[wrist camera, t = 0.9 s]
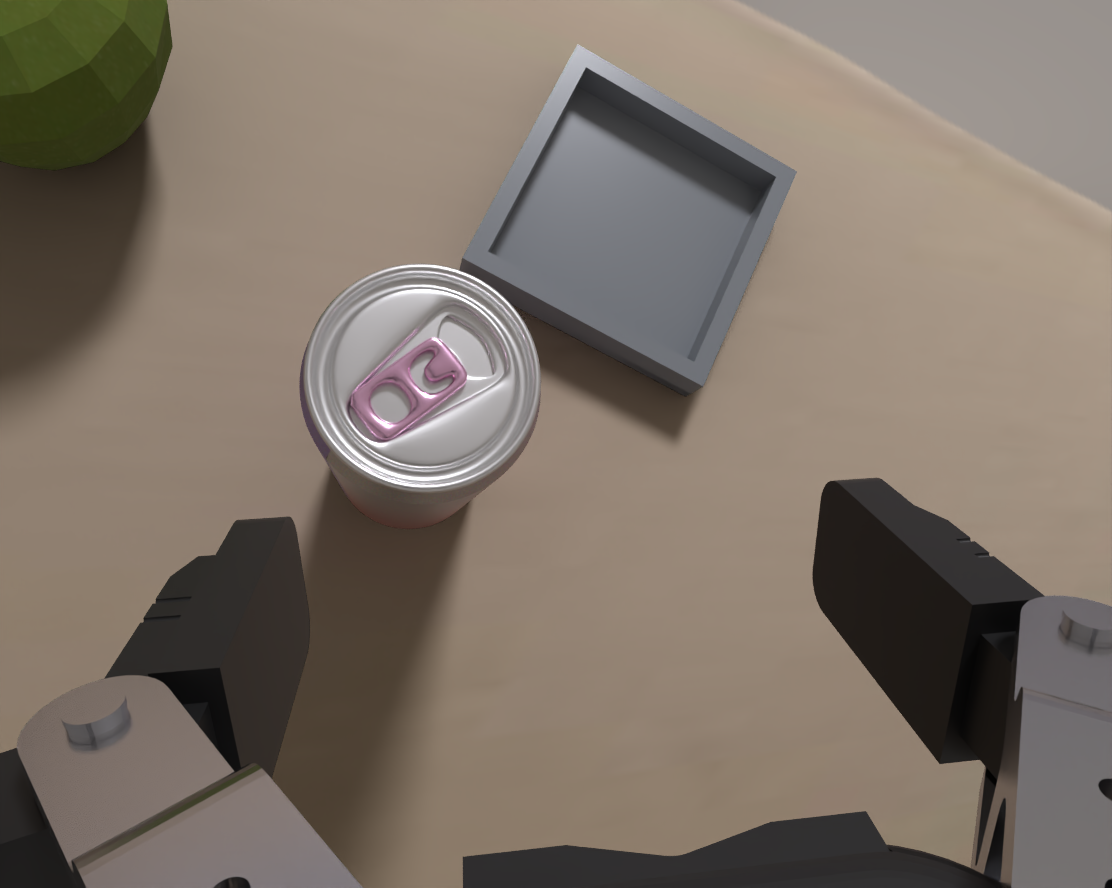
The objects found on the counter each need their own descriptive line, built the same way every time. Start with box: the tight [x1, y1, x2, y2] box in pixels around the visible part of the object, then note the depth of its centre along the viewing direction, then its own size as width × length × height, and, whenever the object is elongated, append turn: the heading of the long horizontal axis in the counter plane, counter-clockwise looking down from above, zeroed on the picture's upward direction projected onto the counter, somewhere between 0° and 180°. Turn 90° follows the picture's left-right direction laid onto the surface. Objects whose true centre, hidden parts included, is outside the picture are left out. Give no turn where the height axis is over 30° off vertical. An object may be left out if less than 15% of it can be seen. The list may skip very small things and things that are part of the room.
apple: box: [0, 0, 172, 170], centre depth 28 cm, size 11×10×10 cm
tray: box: [460, 45, 797, 396], centre depth 36 cm, size 12×12×2 cm
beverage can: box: [300, 264, 541, 529], centre depth 26 cm, size 6×6×15 cm
